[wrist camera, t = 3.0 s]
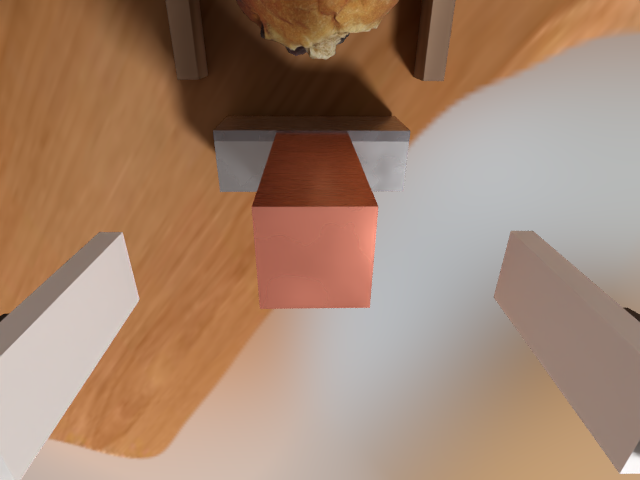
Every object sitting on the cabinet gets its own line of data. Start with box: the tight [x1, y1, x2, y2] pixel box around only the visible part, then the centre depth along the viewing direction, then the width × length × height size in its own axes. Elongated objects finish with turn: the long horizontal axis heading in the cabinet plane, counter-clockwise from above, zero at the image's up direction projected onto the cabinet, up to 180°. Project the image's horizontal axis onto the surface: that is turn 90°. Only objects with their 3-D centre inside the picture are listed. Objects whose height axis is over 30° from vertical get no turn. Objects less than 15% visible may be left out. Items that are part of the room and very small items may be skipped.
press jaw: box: [213, 116, 410, 309], centre depth 20 cm, size 11×4×15 cm, turn 90°
